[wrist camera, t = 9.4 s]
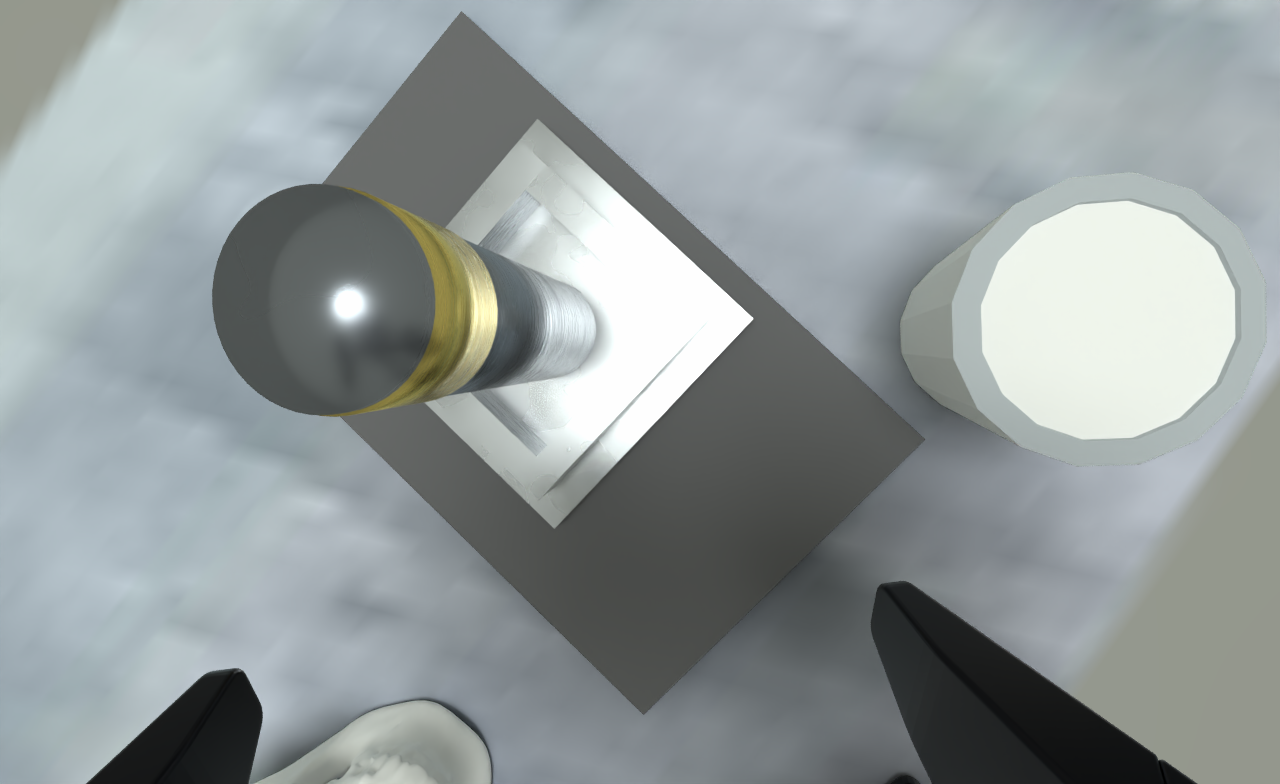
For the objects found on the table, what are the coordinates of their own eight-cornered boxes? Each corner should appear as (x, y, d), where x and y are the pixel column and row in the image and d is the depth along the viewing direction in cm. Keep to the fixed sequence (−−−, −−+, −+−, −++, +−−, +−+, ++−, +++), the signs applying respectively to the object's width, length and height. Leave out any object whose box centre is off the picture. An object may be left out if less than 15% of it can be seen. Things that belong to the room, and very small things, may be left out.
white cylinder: (1139, 294, 21) (1341, 264, 14) (1020, 471, 22) (1157, 524, 15) (951, 191, 22) (1059, 115, 15) (841, 368, 23) (894, 373, 16)
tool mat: (921, 438, 22) (925, 439, 22) (644, 708, 24) (643, 714, 24) (465, 16, 23) (461, 11, 23) (233, 304, 25) (225, 303, 25)
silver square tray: (751, 320, 22) (756, 315, 20) (560, 523, 24) (540, 543, 21) (543, 126, 23) (521, 98, 20) (366, 335, 24) (324, 332, 22)
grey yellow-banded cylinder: (615, 308, 22) (470, 249, 9) (567, 398, 23) (365, 460, 10) (527, 260, 22) (268, 138, 10) (481, 349, 23) (174, 348, 10)
